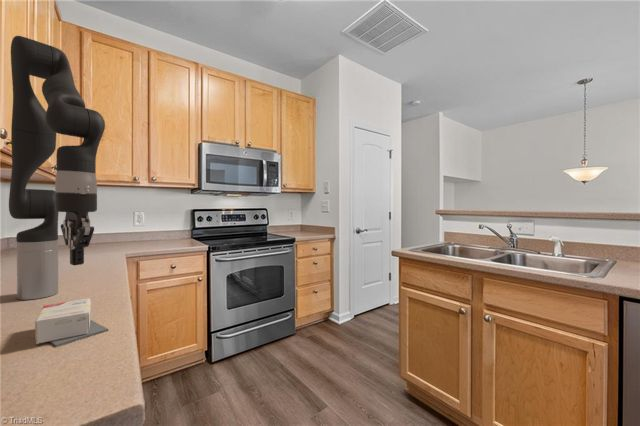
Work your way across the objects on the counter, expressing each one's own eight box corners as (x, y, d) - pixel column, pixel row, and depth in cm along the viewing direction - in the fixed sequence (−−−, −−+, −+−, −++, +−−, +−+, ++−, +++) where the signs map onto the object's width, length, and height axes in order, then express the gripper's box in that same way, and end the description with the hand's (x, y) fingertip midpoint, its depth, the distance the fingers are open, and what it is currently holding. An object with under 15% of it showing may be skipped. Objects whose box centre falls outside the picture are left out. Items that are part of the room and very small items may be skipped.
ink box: (44, 325, 66) (33, 345, 57) (43, 304, 66) (33, 321, 56) (91, 317, 71) (89, 334, 62) (90, 297, 71) (88, 311, 62)
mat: (36, 332, 63) (36, 330, 63) (86, 319, 71) (86, 317, 71) (56, 346, 57) (56, 344, 57) (108, 330, 65) (108, 328, 65)
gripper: (45, 191, 67) (46, 263, 68) (67, 190, 60) (67, 271, 61) (84, 192, 74) (84, 258, 74) (108, 192, 67) (107, 265, 67)
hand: (77, 264), depth 68 cm, fingers closed
